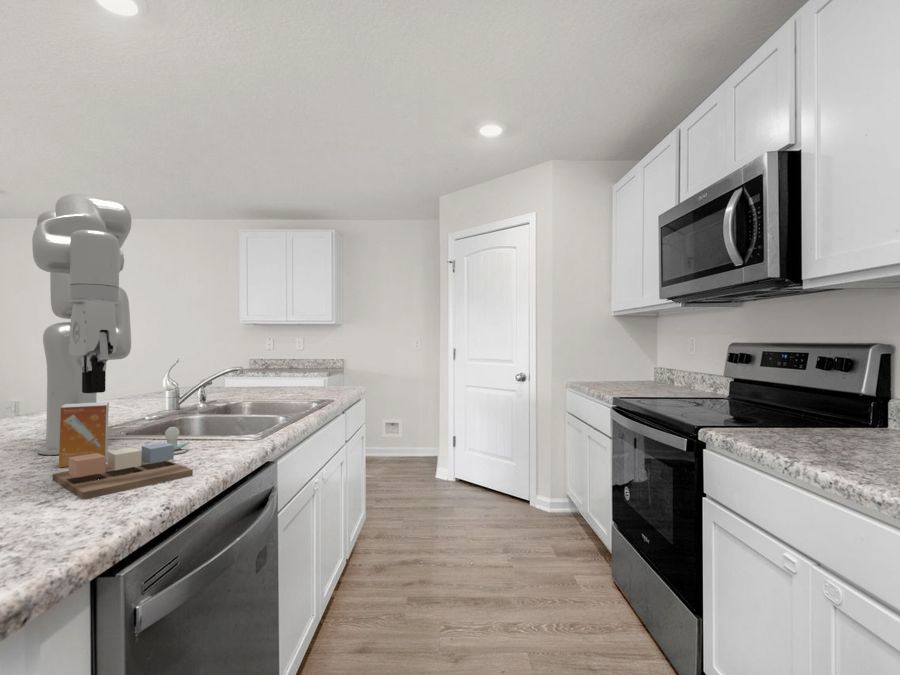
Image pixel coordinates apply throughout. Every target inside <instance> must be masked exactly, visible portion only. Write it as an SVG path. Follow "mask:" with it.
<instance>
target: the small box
mask: <svg viewBox="0 0 900 675" xmlns="http://www.w3.org/2000/svg"><path fill="white" fill-rule="evenodd" d="M109 408H110V401H104V402H103V401H102V402H101V401H100V402H96V403H80V404H64V405H63V406H62V407H61V412H60V441H59V455H58V467H59V468H64V467H65V468H66V467H67V468H68V467H69V457H75V456H81V455H88V454H94V453H99V454H101V455H103V456H106V459H105V462H107V451H109V446H108V445H109V443H108V442H109V410H110V409H109Z"/></svg>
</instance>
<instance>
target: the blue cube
mask: <svg viewBox="0 0 900 675" xmlns="http://www.w3.org/2000/svg"><path fill="white" fill-rule="evenodd" d="M174 455H175V454H174V445H172V444H168V443H167V442H166V441H164V442H160V443H159V442H158V443H153V444H146V445H141V460H142V461H144V462H147V463H149V464H152V463H157V462H163V461H173V460H174V459H175V457H174Z"/></svg>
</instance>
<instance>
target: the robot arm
mask: <svg viewBox="0 0 900 675" xmlns="http://www.w3.org/2000/svg"><path fill="white" fill-rule="evenodd" d="M54 209H55V210H49V211H43V212H42V213H40V214H39V215H38V217H37V219H36V227H35V229H34V231H33V234H32V237H31V239H32V240H31V246H32V257H33V261H34V263H35V265H36V266H37V267H38V268H39V269H40V270H42V271H44V272H47V273H50V274H49V276H50V277H49V278H50V279H49V280H50V281H49V282H50V283H49V284H50V286H49V287H50V288H49V289H50V306H51V312H52V313H53V314H54V316H56V317H58V318H60V319H65V320H70V321H68V322H67V321H65V322H57V323H54V324H50V325H48V327H47V328H45V329H44V332H43V335H42V344H43V350H44V355H45V361H46V362H45V363H46V379H47V380H46V382H47V383H46V426H45V427H46V430H45V432H46V434H45V438H46V439H45V443H46V444H44V445H41V446H38V447H37V450H36V451H37V454H39V455H44V456H46V455H47V456H53V455H54V456H59V441H60V412H61V407H62V406H63V405H64V404H80V403H97V393H98V394H99V393H101V394H102V393H105V392H106V373H107V372H106V370H107V362H108V361H116V360H117V361H118V360H122V359H125V358H127V357H128V356H129V354H130V353H131V350H132V330H131V319H130V318H131V316H130V315H131V314H130V301H129V296H128V294H127V292H126V290H124V289H123V288H122V287H120V272H122V271H123V270H124V265H125V257H124V256H125V255H124V252H123V251H122V250H121V248H122V247H123V246H124V243H125V241H126V240H127V239H128V237H129V234H130V232H131V229H132V215H131V212H130V210H129V208H128V207H127V205H125V204H124V203H122V202H120V201H118V200H112V199H108V198H102V197H101V198H100V197H96V196H90V195H86V194H81V193H80V194H78V193H75V194H74V193H71V194H69V193H68V194H66V195H62V196H61V197H60V198H59V199H58V200H57V201H56V202H55V207H54Z"/></svg>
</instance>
